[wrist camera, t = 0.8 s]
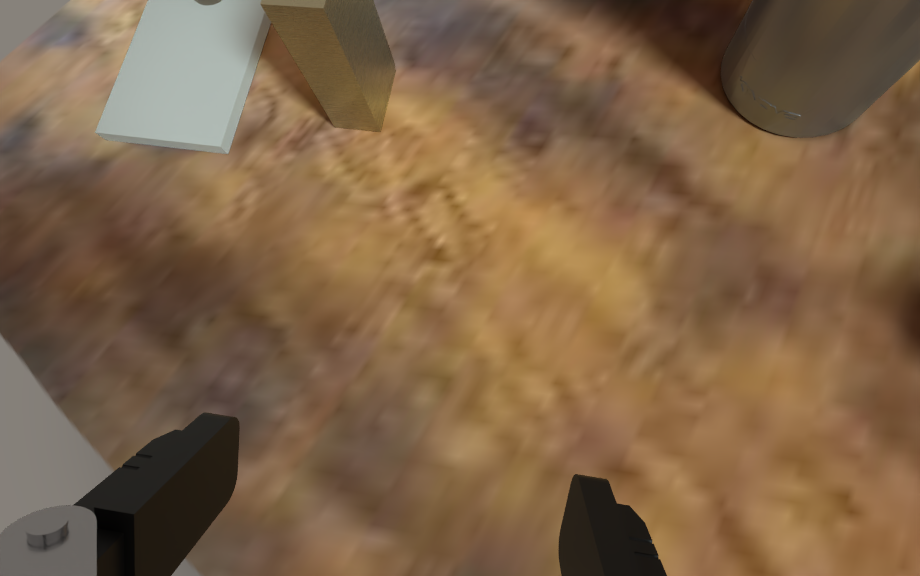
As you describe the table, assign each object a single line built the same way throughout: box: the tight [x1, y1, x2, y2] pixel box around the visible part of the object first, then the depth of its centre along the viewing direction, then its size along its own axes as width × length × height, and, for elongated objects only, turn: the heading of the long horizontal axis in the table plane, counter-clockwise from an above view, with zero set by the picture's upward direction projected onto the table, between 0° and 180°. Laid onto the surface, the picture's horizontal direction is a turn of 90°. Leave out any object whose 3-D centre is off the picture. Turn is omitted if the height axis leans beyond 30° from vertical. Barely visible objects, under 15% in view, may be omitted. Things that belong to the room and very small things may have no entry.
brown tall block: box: [260, 0, 396, 132], centre depth 32 cm, size 7×3×11 cm, turn 170°
